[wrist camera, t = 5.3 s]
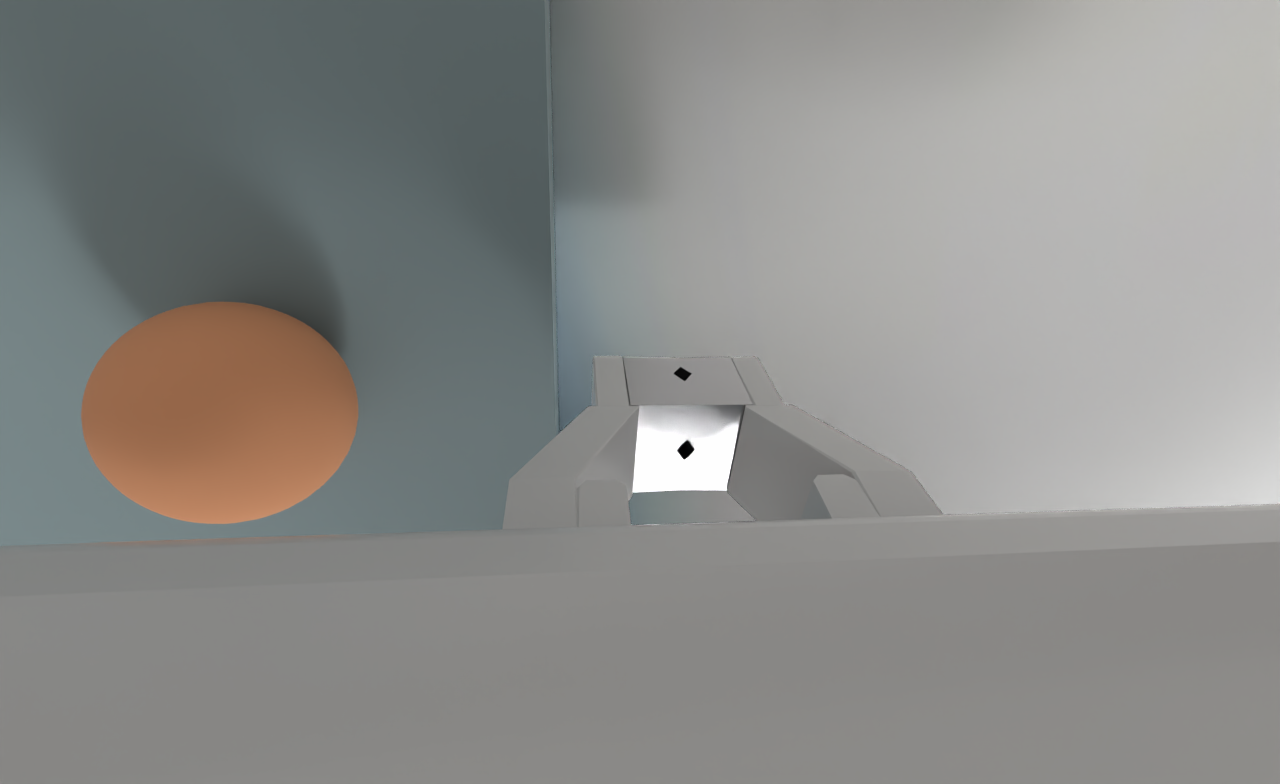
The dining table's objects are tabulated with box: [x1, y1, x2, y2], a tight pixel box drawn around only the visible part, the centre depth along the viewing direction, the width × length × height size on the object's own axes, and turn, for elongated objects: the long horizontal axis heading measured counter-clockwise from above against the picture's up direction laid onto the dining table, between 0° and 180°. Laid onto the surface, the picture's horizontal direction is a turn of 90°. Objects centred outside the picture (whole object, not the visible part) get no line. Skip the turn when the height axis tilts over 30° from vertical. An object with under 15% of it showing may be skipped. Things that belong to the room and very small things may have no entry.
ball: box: [81, 302, 358, 524], centre depth 9 cm, size 4×4×4 cm
